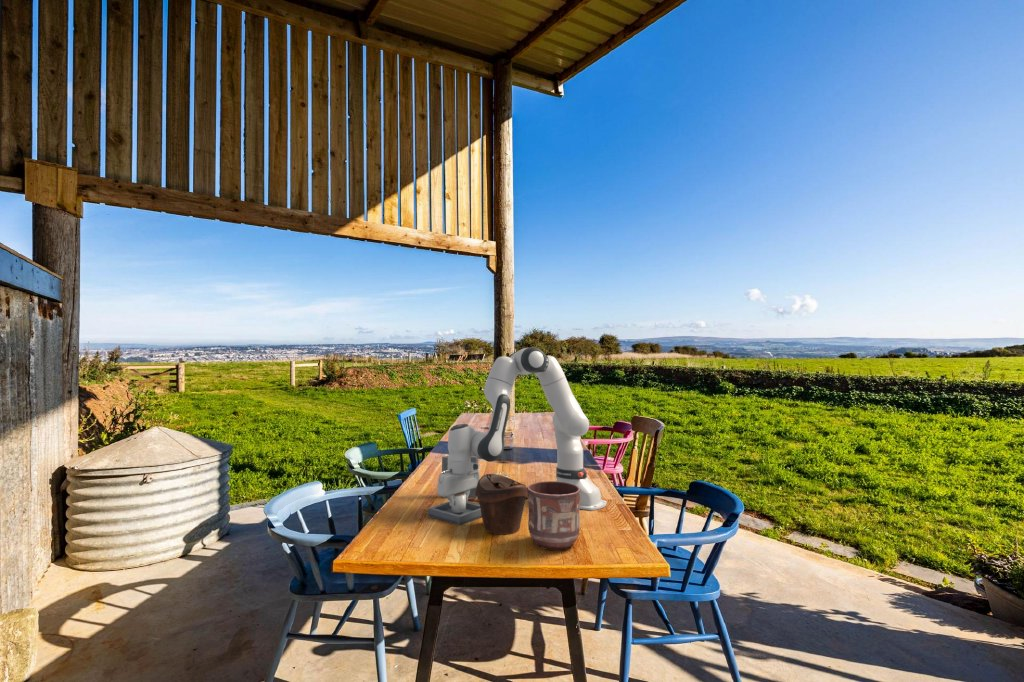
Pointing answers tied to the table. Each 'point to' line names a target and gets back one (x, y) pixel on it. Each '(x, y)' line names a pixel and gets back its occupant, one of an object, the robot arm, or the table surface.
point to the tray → (447, 515)
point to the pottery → (554, 514)
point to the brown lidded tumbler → (501, 503)
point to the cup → (459, 503)
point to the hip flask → (445, 467)
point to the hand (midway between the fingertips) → (458, 503)
